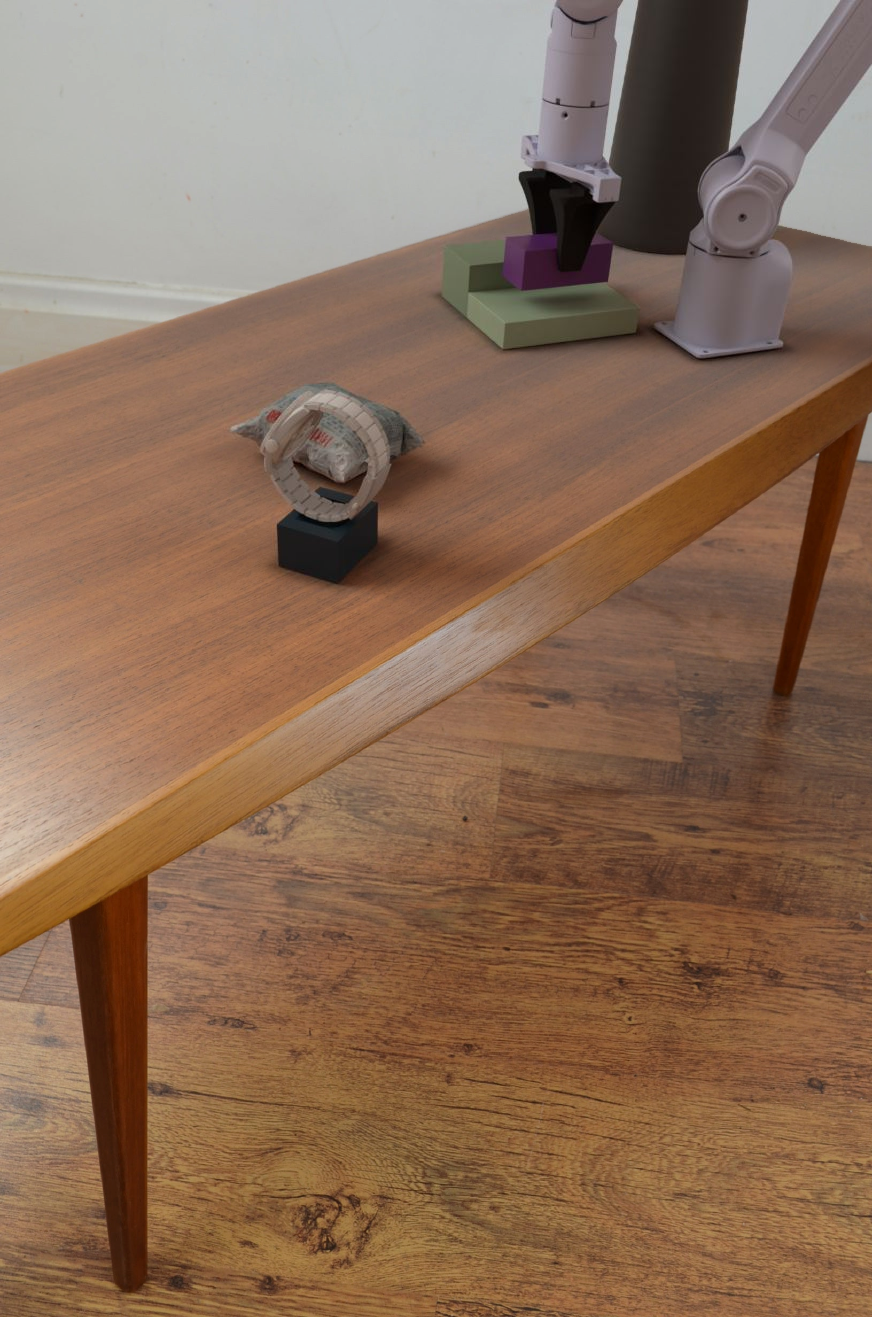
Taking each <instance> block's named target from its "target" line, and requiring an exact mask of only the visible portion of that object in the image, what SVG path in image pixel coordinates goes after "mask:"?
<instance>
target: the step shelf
mask: <svg viewBox="0 0 872 1317" xmlns="http://www.w3.org/2000/svg"><path fill="white" fill-rule="evenodd" d="M504 252H505V239H499V240H489V241H479V242H478V241H477V242H468V243H467V242H466V243H456V244H446V245H444V246H443V262H442V263H443V264H442V280H441V281H442V285H441V297H442V298H443V299H444V300H446V301H447V302H448V303H449V304H450V305H451V306H452V307H454V308H455V309H456V310H457V311H458V312H459V313H460V314H462V315H463V316H464V317H465V318H466V319H467V320H468V321H470V322H471V323H472V324H473V325H474V326H475V327H476V328H478V329H479V330H480V331H481V333H483V334H484V335H485V336H487V337H488V338H489V339H490V340H492V342H493V343H494V344H496V345H497V346H498V347H500V349H501V350H508V349H510V350H511V349H519V348H525V347H534V346H540V345H541V346H542V345H548V344H549V345H550V344H551V345H552V344H558V343H566V342H574V341H581V340H590V339H597V338H598V339H599V338H606V337H613V336H614V337H615V336H622V335H629V334H636V333H637V330H638V329H637V328H638V323H639V322H638V321H639V314H640V310H641V309H640V308H641V306H639V305H637V304H636V303H634V302H633V301H631V300H630V299H628V298H627V297H626V296H624V295H623V294H621V293H620V292H618V291H617V290H615V289H613V288H612V287H611V286H609V285H607V283H606V282H602V283H592V284H583V285H573V286H564V287H555V288H545V289H536V290H526V291H521V290H520V289H518V288H517V287H516V286H514V285H513V284H512V283H510V282H509V281H508V280H507V279H505V278H504V277H503V264H504Z"/></svg>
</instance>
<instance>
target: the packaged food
mask: <svg viewBox="0 0 872 1317" xmlns="http://www.w3.org/2000/svg"><path fill="white" fill-rule="evenodd" d="M326 389H327V390H333V391H337V393H338V392H342V393H345V394H347V395H350V397H354V398H355V399H357V400H359V401H360V402H361V403H362V404H363V405H365V406H366V407H367V408H368V409H369V410H370V411H371V412H372V413H373V414H374V416H375V417H376V418H377V419H378V421H379V422H380V424H381V426H382V428H383V430H384V432H385V434H386V436H387V439H388V443H387V444H389V448H390V455H389V456H390V461H389V462H391V461H393V460H396V459H397V458H400V457H401V456H402V457H403V456H406V455H407V454H408V453H410V451H413V450H416V449H417V448H422V447H423V445H424V444H425V442H426V441H425V439H423V438H422V437H421V436H420V434H419V433H418V432H417V431H416V429H415V428H414V427H413V425H412V424H411V423H410V422H409V421H408V420H407V419H406V418H405V417H404V416H403V415H402V414H401V413H400V412H399V411H397V410H396V409H394V408H391V407H388V406H385V405H383V404H381V403H378V402H375V401H373V400H371V399H369V398H365V397H363V396H361V395H357V394H355V393H352V392H351V391H349V390H348V389H345V388H343V387H341V386H340V385H338V384H336V383H333V382H331V381H330V382H329V381H327V382H326V381H325V382H323V381H322V382H314V383H313V382H312V383H308V384H305V385H302V386H300V387H298V388H296V389H294V390H293V391H290V392H288V393H287V394H284V395H283V396H281V397H280V398H279V399H278V400H275V401H274V402H272V403H271V404H269V405H267V406H266V407H264V408H263V409H262V410H261V411H260V412H259V413H258V415H256V416H255V417H253V418H249V419H247V420H246V421H244V422H241V423H238V424H234V425H233V426H231V427H230V429H229V432H230V433H231V434H233V435H234V434H236V435H239V436H241V437H242V438H245V439H246V438H247V439H250V440H252V441H254V442H255V444H256V445H257V446H258V447H259V448H260V447H261V444H262V442H263V440H264V438H265V436H266V435H267V433H268V432H269V430H270V429H271V427H272V426H273V424H274V423H275V422H276V420H277V419H278V418H279V417H280V415H281V414H282V413H283V412H284V411H285V410H286V409H287V407H288V406H289V405H290V404H291V403H292V402H293V401H294V400H296V399H297V398H298V397H299V396H300V395H302V394H303V393H305V392H307V391H311V392H313V393H314V396H315V395H316V394H318V393H319V392H321V391H323V390H326ZM358 416H359V415H358ZM358 416H357V417H358ZM374 416H373V417H374ZM373 417H372V418H373ZM372 418H371V419H372ZM345 421H346V420H345ZM345 421H342V420H341V419H339V418H337V417H335V416H334V415H333V413H332V414H329V413H326V412H324V414H323V417H322V419H321V421H320V423H319V424H318V426H317V427H316V429H315V430H314V432H313V433H312V434H311V436H310V437H309V438H308V439H307V441H306V442H305V443H304V444H303V445H302V446H301V448H300V449H299V450H298V451H297V453H296V455H295V456H294V457H291V459H292V461H293V462H295V463H299V464H302V465H303V466H304V467H305V468H307V470H309V471H311V472H313V473H316V474H319V475H322V476H325V477H326V478H328V479H330V480H332V481H333V482H335V483H337V484H339V483H341V484H344V483H346V482H348V481H351V480H352V479H354V478H356V477H358V476H359V475H361V474H363V473H367V471H368V464H369V463H370V457H371V456H369V454H368V452H367V449H366V447H365V444H366V443H367V442H366V443H364V442H362V440H361V439H360V437H359V436H358V435H357V433H356V432H357V431H354V430H353V429H352V428H351V427H349V426H348V425H347V424H346V422H345ZM371 426H372V425H371ZM369 427H370V426H369ZM369 427H368V428H369ZM368 428H367V429H368ZM367 429H366V430H367ZM358 430H359V429H358ZM366 430H365V431H366Z"/></svg>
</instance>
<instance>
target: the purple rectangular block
mask: <svg viewBox="0 0 872 1317" xmlns="http://www.w3.org/2000/svg"><path fill="white" fill-rule="evenodd" d="M504 240H505V252H504V264H503V277H504V278H505V279H507V280H508V281H509V282H510V283H512V284H513V285H514V286H516V287H517V288H518V289H520V290H521V291H526V290H536V289H545V288H555V287H564V286H573V285H583V284H592V283H602V282H603V283H608V282H609V277H610V270H611V264H612V255H613V249H614V243H613V242H611V241H610V240H608V239H606V238H605V237H603V236H602V235H600V234H599V233H598V231H596V233H595V236H594V238H593V240H592V243H591V245H590V248H589V250H588V253H587V256H586V258H585V261H584V264H583V266H582V269H581V270H580V271H570V272H561V271H559V270H558V264H557V233H547V234H536V235H533V234H526V235H525V234H524V235H515V236H506V237H505V239H504Z"/></svg>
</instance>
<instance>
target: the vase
mask: <svg viewBox="0 0 872 1317" xmlns="http://www.w3.org/2000/svg"><path fill="white" fill-rule="evenodd" d="M748 9H749V0H637V6H636V10H635V16H634V21H633V27H632V34H631V38H630V44H629V49H628V54H627V59H626V60H627V61H626V64H625V65H626V66H625V71H624V76H623V83H622V87H621V94H620V98H619V105H618V110H617V115H616V121H615V124H614V132H613V137H612V144H611V146H610V155H609V158H608V164H609V166H610V167H611V169H612V170H613V172H614V173H615V174H616V175H618V176H620V177H621V185H620V192H619V199H618V201H615V204H614V205H613V206H612V208H611V209H610V210H609V211H608V213H607V214H606V216H605V217H604V219H603V220H602V222H601V224H600V226H599V227H598V229H597V231H596V232H597V233H598V234H600V235H602V236H603V237H605V238H606V239H608V240H610V241H611V242H613V245H617V246H618V247H619V246H621V247H622V248H626V249H630V250H635V251H640V252H646V253H653V254H667V255H677V254H678V255H679V254H682V255H683V254H686V253H687V247H688V242H689V236H690V232H691V231H692V230H693V229H694V228H695V227H696V226H697V225H698V224H699V223H700V221H701V219H702V218H703V217H704V214H703V210H702V209H701V206H700V203H699V199H698V186H699V182H700V178H701V176H702V174H703V172H704V171H705V169H706V168H707V167H708V166H709V164H710V163H711V162H713V161H714V160H715V159H716V158H718V157H720V156H721V155H723V154H725V153H726V152H728V151H729V150H730V143H731V142H730V141H731V134H732V127H733V119H734V114H735V104H736V96H737V90H738V83H739V82H738V80H739V76H740V67H741V61H742V52H743V46H744V45H743V44H744V38H745V30H746V23H747V14H748Z"/></svg>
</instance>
